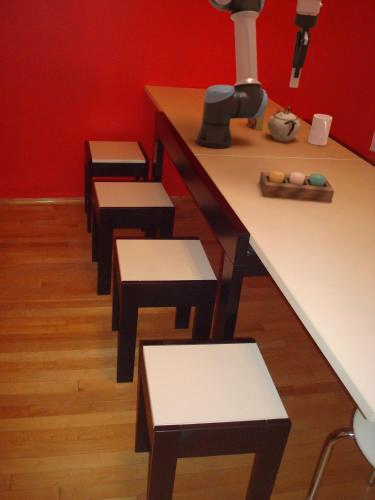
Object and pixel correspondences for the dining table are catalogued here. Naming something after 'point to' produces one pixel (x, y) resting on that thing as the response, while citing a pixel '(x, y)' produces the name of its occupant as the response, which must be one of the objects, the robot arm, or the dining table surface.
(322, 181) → the teal egg
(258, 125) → the candy box
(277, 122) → the sugar bowl
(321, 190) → the wooden compartment tray
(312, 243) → the dining table surface
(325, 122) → the mug
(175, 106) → the dining table surface
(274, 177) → the orange rounded ball
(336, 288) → the dining table surface
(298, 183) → the pink round piece
